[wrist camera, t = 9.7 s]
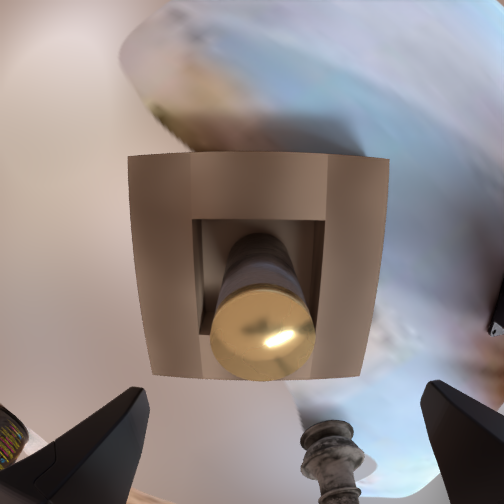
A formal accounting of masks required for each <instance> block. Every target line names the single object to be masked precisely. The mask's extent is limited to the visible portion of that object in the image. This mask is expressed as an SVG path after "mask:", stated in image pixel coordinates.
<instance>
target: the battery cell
mask: <svg viewBox="0 0 504 504" xmlns="http://www.w3.org/2000/svg"><path fill="white" fill-rule="evenodd" d="M315 337H316V335H315V328H314V325H313V322H312V319H311V316H310V313H309V310H308V307H307V304H306V301H305V298H304V295H303V292H302V289H301V287H300V284H299V281H298V278H297V275H296V272H295V270H294V267H293V264H292V261H291V258H290V255H289V253H288V250H287V248H286V247H285V245H284V244H283V243H282V242H281V241H280V240H279V239H278V238H276V237H274V236H272V235H270V234H266V233H251V234H248V235H246V236H243V237H242V238H240V239H239V240H238V241H236V243H235V244H234V245H233V246H232V248H231V250H230V252H229V255H228V259H227V263H226V267H225V271H224V275H223V280H222V284H221V288H220V293H219V297H218V301H217V306H216V310H215V314H214V319H213V323H212V328H211V333H210V345H211V349H212V352H213V354H214V356H215V358H216V359H217V361H218V362H219V363H220V365H221V366H222V367H223V368H225V369H226V370H227V371H229V372H230V373H232V374H233V375H235V376H237V377H240V378H243V379H246V380H251V381H272V380H277V379H281V378H283V377H286V376H288V375H290V374H292V373H294V372H295V371H297V370H298V369H299V368H300V367H302V366H303V365H304V363H305V362H306V361H307V360H308V358H309V357H310V355H311V353H312V351H313V348H314V345H315Z"/></svg>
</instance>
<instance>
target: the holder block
mask: <svg viewBox="0 0 504 504" xmlns="http://www.w3.org/2000/svg"><path fill="white" fill-rule="evenodd" d="M389 160H390V159H383V158H374V157H363V156H351V155H338V154H322V153H302V152H270V151H219V152H187V153H167V154H151V155H138V156H128V184H129V201H130V202H129V203H130V218H131V231H132V242H133V252H134V262H135V270H136V278H137V286H138V293H139V301H140V308H141V314H142V320H143V326H144V332H145V338H146V344H147V349H148V354H149V359H150V364H151V369H152V373H153V375H160V376H171V377H184V378H198V379H218V380H246V379H243V378H240V377H237V376H235V375H233V374H232V373H230V372H229V371H227V370H226V369H225V368H223V367H222V366H221V365H220V363H219V362H218V361H217V359H216V358H215V356H214V354H213V352H212V349H211V345H210V333H211V328H212V323H213V319H214V314H215V310H216V306H217V301H218V297H219V293H220V288H221V284H222V280H223V275H224V271H225V267H226V263H227V259H228V255H229V252H230V250H231V248H232V246H233V245H234V244H235V243H236V241H238V240H239V239H240V238H242V237H243V236H246V235H248V234H251V233H266V234H270V235H272V236H274V237H276V238H278V239H279V240H280V241H281V242H282V243H283V244H284V245H285V247H286V248H287V250H288V253H289V255H290V258H291V261H292V264H293V267H294V270H295V272H296V275H297V278H298V281H299V284H300V287H301V289H302V292H303V295H304V298H305V301H306V304H307V307H308V310H309V313H310V316H311V319H312V322H313V325H314V328H315V335H316V337H315V345H314V348H313V351H312V353H311V355H310V357H309V358H308V360H307V361H306V362H305V363H304V365H303V366H302V367H300V368H299V369H298V370H297V371H295V372H294V373H292V374H290V375H288V376H286V377H283V378H281V379H277V380H309V379H328V378H343V377H355V376H360V372H361V368H362V364H363V359H364V355H365V350H366V346H367V341H368V336H369V331H370V326H371V321H372V316H373V310H374V305H375V299H376V293H377V286H378V280H379V273H380V266H381V258H382V250H383V242H384V232H385V222H386V211H387V198H388V182H389Z"/></svg>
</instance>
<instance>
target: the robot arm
mask: <svg viewBox="0 0 504 504" xmlns="http://www.w3.org/2000/svg"><path fill="white" fill-rule="evenodd" d="M488 334H489V335H490V336H491V337H493V336H498V335H503V334H504V279H503V283H502V287H501V291H500V295H499V299H498V302H497V306H496V309H495V312H494V316H493V319H492V322H491V325H490V328H489V331H488ZM420 406H421V410H422V413H423V417H424V421H425V425H426V429H427V433H428V437H429V440H430V443H431V446H432V449H433V452H434V455H435V458H436V460H437V463H438V466H439V469H440V472H441V475H442V478H443V481H444V484H445V487H446V490H447V493H448V497H449V500H450V503H451V504H504V416H503V415H502V414H500V413H498V412H496V411H494V410H493V409H491V408H489V407H487V406H485V405H484V404H482V403H480V402H478V401H476V400H475V399H473V398H471V397H469V396H468V395H466V394H464V393H462V392H460V391H459V390H457V389H455V388H453V387H452V386H450V385H448V384H446V383H445V382H443V381H441V380H433V381H429V382H428V383H427V385H426V387H425V390H424V393H423V395H422V397H421V401H420ZM149 413H150V407H149V403H148V399H147V395H146V392H145V390H144V389H143V388H140V387H130V388H129V389H127V390H126V391H125V392H123V393H122V394H120V395H119V396H117V397H116V398H115V399H113V400H112V401H110V402H109V403H108V404H106V405H105V406H103V407H102V408H101V409H99V410H98V411H96V412H95V413H93V414H92V415H91V416H89V417H88V418H86V419H85V420H83V421H82V422H80V423H79V424H78V425H76V426H75V427H73V428H72V429H70V430H69V431H67V432H66V433H64V434H63V435H62V436H60V437H59V438H57V439H56V440H55V441H53V442H51V443H50V444H48V445H47V446H45V447H43V448H42V449H40V450H39V451H37V452H35V453H34V454H32V455H30V456H28V457H26V458H25V459H23V460H21V461H19V462H17V463H15V464H13V465H11V466H9V467H6V468H4V469H2V470H0V504H126V501H127V498H128V495H129V492H130V488H131V485H132V482H133V479H134V475H135V473H136V469H137V466H138V463H139V460H140V457H141V453H142V449H143V444H144V438H145V433H146V428H147V423H148V418H149Z"/></svg>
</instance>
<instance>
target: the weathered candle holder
mask: <svg viewBox="0 0 504 504" xmlns="http://www.w3.org/2000/svg"><path fill="white" fill-rule="evenodd" d="M353 433H354V431H353V427H352V426H351V425H350V424H349V423H347V422H344V421H339V420H331V421H325V422H322V423H318V424H316V425H314V426H312V427H310V428H309V429H308V430H306V431H305V432H304V433H303V435H302V437H301V439H300V444H301V446H302V448H304V449H305V450H307V452H306V454H305V456H304V459H303V463H302V465H301V472H302V474H303V475H304V476H305V477H307V478H309V479H312V480H318V483H319V486H320V492H321V497H320V498H319V500H318V503H319V504H359V500H358V497H359V496H360V495H361V490H360V489H359V488H356V484H355V480H354V476H353V471H355V470H356V469H357V468H358V467H359V466H360V465H361V464H362V463H363V461H364V457H365V456H364V452H363V451H362V450H361V449H360V448H358V446H357V445H356V444H355V443H354V442H353V441H352V440H351V439H352V437H353Z"/></svg>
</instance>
